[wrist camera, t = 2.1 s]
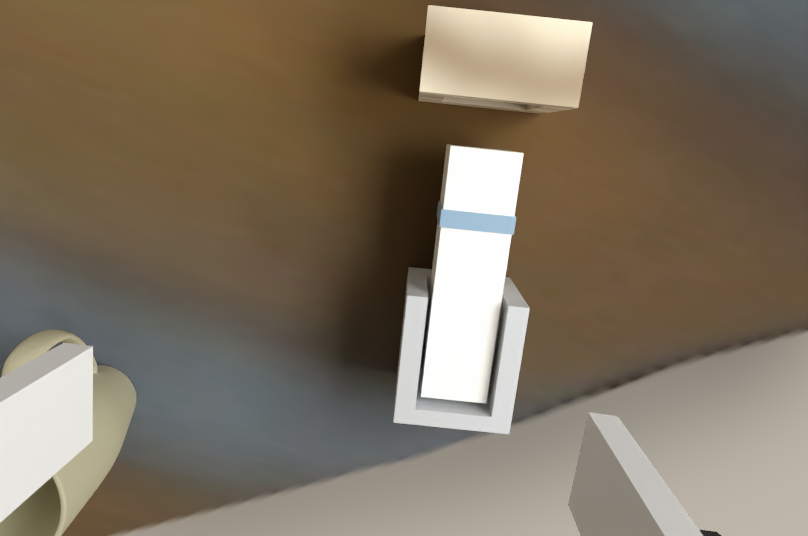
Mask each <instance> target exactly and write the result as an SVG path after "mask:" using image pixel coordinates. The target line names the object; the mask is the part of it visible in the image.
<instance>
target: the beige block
mask: <svg viewBox="0 0 808 536" xmlns="http://www.w3.org/2000/svg"><path fill="white" fill-rule="evenodd" d="M592 23H593V22H584V21H575V20H565V19H556V18H546V17H537V16H527V15H518V14H508V13H499V12H489V11H480V10H470V9H461V8H451V7H442V6H432V5H428V12H427V22H426V32H425V41H424V51H423V61H422V70H421V80H420V90H419V100H418V101H424V102H433V103H443V104H452V105H462V106H472V107H481V108H491V109H500V110H510V111H519V112H529V113H539V114H544V113H550V112H556V111H562V110H568V109H575V108H578V106H579V100H580V94H581V88H582V82H583V76H584V70H585V64H586V59H587V53H588V47H589V41H590V35H591V29H592Z"/></svg>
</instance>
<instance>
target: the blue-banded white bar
mask: <svg viewBox="0 0 808 536" xmlns="http://www.w3.org/2000/svg"><path fill="white" fill-rule="evenodd" d="M523 155H524V153H520V152H514V151H506V150H496V149H487V148H477V147H468V146H458V145H448V144H447V146H446V154H445V163H444V171H443V180H442V188H441V197H440V201H438V208H437V220H438V223H437V231H436V240H435V248H434V257H433V266H432V274H431V283H430V291H429V300H428V308H427V317H426V326H425V334H424V343H423V351H422V360H421V368H420V377H421V397H427V398H437V399H446V400H456V401H466V402H476V403H486V402H487V396H488V389H489V382H490V376H491V369H492V362H493V356H494V349H495V342H496V335H497V329H498V322H499V315H500V309H501V302H502V295H503V289H504V282H505V275H506V269H507V262H508V255H509V248H510V242H511V235H514V229H515V223H516V216H514V215H515V208H516V202H517V195H518V188H519V181H520V175H521V168H522V161H523Z"/></svg>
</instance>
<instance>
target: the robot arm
mask: <svg viewBox="0 0 808 536" xmlns="http://www.w3.org/2000/svg"><path fill="white" fill-rule="evenodd" d="M92 441H93V346H86V345H79V344H71V343H63V344H61V345H59V346H57V347H55V348H53V349H52V350H50V351H48V352H46V353H44V354H42V355H41V356H39V357H37V358H35V359H33V360H31V361H30V362H28V363H26V364H24V365H22V366H20V367H19V368H17V369H15V370H13V371H11V372H9V373H8V374H6V375H4V376H2V377H0V523H1V522H2V521H3V520H4V519H5V518H6V517H7V516H8V515H10V514H11V513H12V512H13V511H14V510H15V509H16V508H17V507H19V506H20V505H21V504H22V503H23V502H24V501H25V500H26V499H28V498H29V497H30V496H31V495H32V494H33V493H34V492H35V491H37V490H38V489H39V488H40V487H41V486H42V485H43V484H44V483H46V482H47V481H48V480H49V479H50V478H51V477H52V476H53V475H55V474H56V473H57V472H58V471H59V470H60V469H61V468H62V467H64V466H65V465H66V464H67V463H68V462H69V461H70V460H71V459H73V458H74V457H75V456H76V455H77V454H78V453H79V452H80V451H82V450H83V449H84V448H85V447H86V446H87V445H88V444H89V443H91V442H92ZM568 505H569V507H570V510H571V512H572V514H573V517H574V519H575V522H576V525H577V527H578V530H579V532H580V534H581V536H721V535H719V534H718V533H717V532H712V531H705V530H699V529H698V528H697V526H696V525H695V524H694V522H693V521H692V519H691V518H690V517H689V515H688V514H687V512H686V511H685V510H684V508H683V507H682V505H681V504H680V503H679V501H678V500H677V498H676V497H675V496H674V494H673V493H672V491H671V490H670V489H669V487H668V486H667V484H666V483H665V482H664V480H663V479H662V477H661V476H660V475H659V473H658V472H657V471H656V469H655V468H654V466H653V465H652V463H651V462H650V461H649V459H648V458H647V457H646V455H645V454H644V452H643V451H642V450H641V448H640V447H639V445H638V444H637V443H636V441H635V440H634V438H633V437H632V436H631V434H630V433H629V432H628V430H627V429H626V427H625V426H624V424H623V423H622V422H621V420H620V419H619V417H617V416H612V415H605V414H597V413H588V417H587V421H586V426H585V431H584V435H583V440H582V445H581V450H580V454H579V458H578V463H577V468H576V472H575V477H574V481H573V486H572V491H571V495H570V500H569V504H568Z"/></svg>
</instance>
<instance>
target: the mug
mask: <svg viewBox="0 0 808 536" xmlns="http://www.w3.org/2000/svg"><path fill="white" fill-rule="evenodd" d="M61 341H63V343H71V344H79V345H86V344H85V343H84V342H83V341H82V340H81V339H80V338H79V337H77V336H76V335H74V334H72V333H69V332H66V331H62V330H56V329H54V330H44V331H41V332H39V333H36V334H34V335H32V336H30V337H29V338H27V339H26V340H24V341H23V342H21V343H20V344H19V345H18V346H17V347H16V348H15V349H14V350H13V351H12V352H11V353H10V355H9V356H8V358H7V360H6V362H5V363H4V366H3V369H2V376H4V375H6V374H8V373H9V372H11V371H13V370H15V369H17V368H19V367H20V366H22V365H24V364H26V363H28V362H30V361H31V360H33V359H35V358H37V357H39V356H41V355H42V354H44V353H46V352H47V351H48V350H49V349H51V348H52V347H53V346H54V345H56V344H57V343H59V342H61ZM135 406H136V392H135V388H134V386H133V384H132V383H131V381H130V380H129V378H128V377H127V376H126V375H125V374H123V373H122V372H121V371H119V370H117V369H115V368H113V367H110V366H106V365H97V363H96V361H95V358H94V357H93V441H92V442H91V443H89V444H88V445H87V446H86V447H85V448H84V449H83V450H82V451H80V452H79V453H78V454H77V455H76V456H75V457H74V458H73V459H71V460H70V461H69V462H68V463H67V464H66V465H65V466H64V467H62V468H61V469H60V470H59V471H58V472H57V473H56V474H55V475H53V476H52V477H51V478H50V479H49V480H48V481H47V482H46V483H44V484H43V485H42V486H41V487H40V488H39V489H38V490H37V491H35V492H34V493H33V494H32V495H31V496H30V497H29V498H28V499H26V500H25V501H24V502H23V503H22V504H21V505H20V506H19V507H17V508H16V509H15V510H14V511H13V512H12V513H11V514H10V515H8V516H7V517H6V518H5V519H4V520H3V521H2V522H1V523H0V536H61V535H62V534H63V533H64V531H65V530H66V529H67V527H68V526H69V525H70V523H71V522H72V521H73V519H74V518H75V517H76V515H77V514H78V513H79V512H80V510H81V509H82V508H83V506H84V505H85V504H86V502H87V501H88V500H89V498H90V497H91V496H92V495H93V493H94V492H95V491H96V489H97V488H98V487H99V485H100V484H101V482H102V481H103V480H104V478H105V477H106V475H107V474H108V472H109V470H110V469H111V467H112V465H113V464H114V462H115V460H116V458H117V456H118V454H119V451H120V449H121V447H122V444H123V441H124V438H125V435H126V433H127V430H128V427H129V424H130V421H131V418H132V415H133V412H134V409H135Z"/></svg>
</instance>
